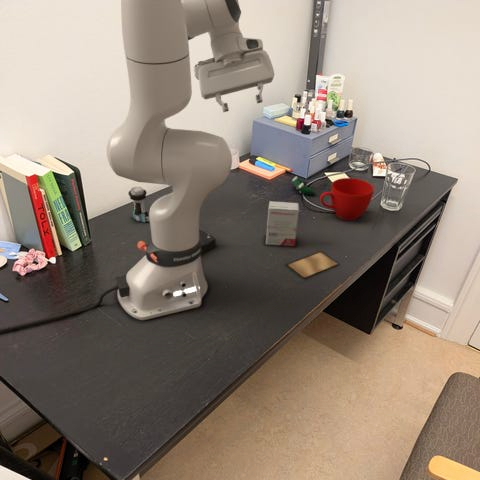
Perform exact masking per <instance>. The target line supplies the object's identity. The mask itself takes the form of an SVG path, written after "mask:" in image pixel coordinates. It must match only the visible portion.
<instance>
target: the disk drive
mask: <svg viewBox="0 0 480 480" xmlns="http://www.w3.org/2000/svg"><path fill="white" fill-rule="evenodd" d="M199 235H200V237H201V245H202V253H204V252H206V251H208V250H210V249H212V248H213V247H215V246H217V238H216V237H215V236H213V235H211V234H209V233H207V232H205V231H204V230H202V229H199Z"/></svg>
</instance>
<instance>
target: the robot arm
mask: <svg viewBox="0 0 480 480" xmlns="http://www.w3.org/2000/svg"><path fill="white" fill-rule="evenodd" d="M241 14H242V10H241V8H240V3H239V0H121V1H120V15H121V16H120V17H121V33H122V44H123V50H124V56H125V63H126V69H127V76H128V84H129V95H130V100H129V101H130V102H129V109H128V113H127V115H126V117H125V119H124V121H122V123H121V125H120V126H118V127H117V128H116V129H114V130H113V132H112V133H111V134H110V136H109V139H108V141H107V144H106V157H107V161H108V164H109V166H110V168H111V170H112V171H113V173H114V174H115V175H116V176H118V177H121V178H124V179H127V180H130V181H134V182H137V183H145V184H157V185H165V186H166V185H168V186H169V187H171V188H172V192H170V193H167V194H165V195H163V196H160V197H159V198H157V199H156V200H154V202H152V204H151V206H150V208H149V212H148V214H149V220H150V222H149V228H150V235H151V237H150V240H149V243H148V244H147V243H146V242H145V241H144V240H139V241H138V242H137V243H136V244H137V245H136V246H137V248H138V249H139V250H140V251H141V252H145V255H144V256H143V257H142V258H140V259H139V260H138V262H136V264H135V265H133V267H131V268H130V269H129V270H128V271H127V273H126V275H120V276H116V277H115V281H116V285H115V286H112V287H111V288H109V289H107V290H105V291H104V292H103V293H101V295H100V296H99V299H98V301H97V302H96V303H94V304H93V305H90V306H88V307H85V308H81V309H77V310H73V311H68V312H65V313H61V314H58V315H55V316H51V317H46V318H42V319H38V320H34V321H31V322H26V323H22V324H17V325H13V326H9V327H3V328H0V333H4V332H8V331H13V330H18V329H22V328H26V327H30V326H34V325H38V324H43V323H47V322H50V321H55V320H58V319H62V318H65V317H68V316H72V315H76V314H81V313H84V312H87V311H89V310H92V309H95V308H97V307H98V306H100V305H101V303H102V302H103V300H104V297H105V296H107V295H108V294H109V293H110V294H111V292H114V291H116V290H117V300H118V303H119V304H120V306H121V307H122V309H123V310H124V311H125V312H126V313H127V314H128V315H129V316H131V317H133V318H134V319H136V320H139V321H146V320H150V319H155V318H158V317H159V318H160V317H162V316H167V315H171V314H175V313H179V312H184V311H189V310H192V309H197V308H199V307H201V305H202V299H203V297H204V296H205V295H206V293H207V291H208V286H209V285H208V282H207V279H206V276H205V274H204V269H203V264H202V257H201V256H202V254H203V252H202V245H201V237H200V235H199V230H200V216H201V215H200V214H201V209H202V206H203V203H204V201H205V199H206V198H207V196H208V195H210V193H211V192H212V191H214V190H215V189H217V188H219V187H220V186H222V185H223V183H224V182H225V181H226V180H227V179H228V178H229V175H230V173H231V170H232V166H233V157H232V156H233V155H232V151H231V149H230V146H229V144H228V142H227V141H226V139H225V138H224V137H223V136H219V135H217V134H214V133H209V132H207V131H202V130H195V129H194V130H193V129H182V128H181V129H180V128H171V127H168V126H167V124H166V120H167V119H169V118H171V117H174V116H176V115H177V114H180V113H181V112H182V111H183V110H185V108H186V107H187V106H188V105H189V103H190V102H191V99H192V94H193V89H192V87H193V86H192V72H191V58H190V56H191V55H190V46H189V45H190V44H189V41H190V40H193V39H194V38H196V37H199V36H201V35H204V34H208V35H209V38H210V39H209V40H210V48H211V49H210V50H211V53H212V56H213V57H211V58H207V59H205V60H200V61H197V63H196V64H195V65H194V66H193V73H194V77H195V78H196V80H198V83H199V84H198V85H199V90H200V95H201V98H202V99H204V100H209V99H214V98H215V101H216V102H217V103H218V105H219V106H221V109H222V113H228V112H229V111H230V110H229V105H228V102H224V101H223V100H222V96H225V95H229V94H233V93H236V92H240V91H245V90H247V89H251V88H255V87H256V89H257V90H258V91H259V92H258V94H256V95H255V100H256V104H260V103H261V104H262V103H263V97H262V96H263V90H264V85H267V84H271V83H272V82H273V80H274V78H275V70H274V66H273V64H272V60H271V58H270V55H269V54H268V52H267V51H266V50H265V49H264V43H263V40H262V39H260V38H251V37H244V35H243V33H242V31H241V29H240V18H241V16H242V15H241Z"/></svg>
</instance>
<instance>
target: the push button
mask: <svg viewBox="0 0 480 480" xmlns="http://www.w3.org/2000/svg"><path fill="white" fill-rule="evenodd" d="M147 193H148V192H147V190H145V189H144V188H143V187H141V186H134V187H131V188H130V190H129V191H128V196H129V198H130V200H132V202H133V207H134V208H133V210H132V217H133V219H134V220H136V221H137V222H142V223H146V222H149V223H150V219H149V212H148V211H146V208H145V199H146V198H147Z"/></svg>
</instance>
